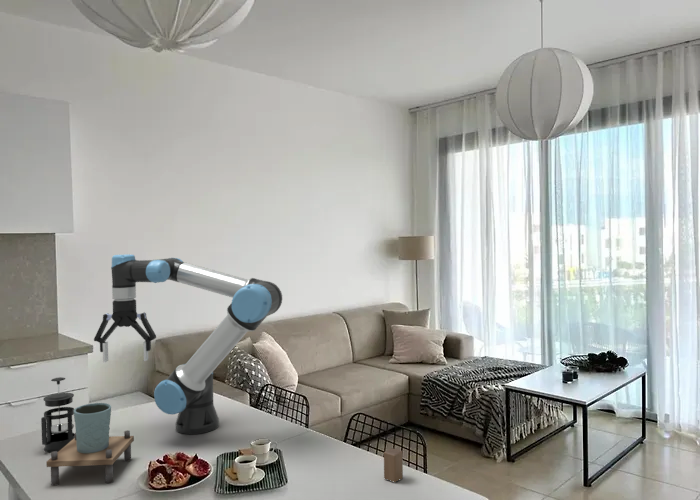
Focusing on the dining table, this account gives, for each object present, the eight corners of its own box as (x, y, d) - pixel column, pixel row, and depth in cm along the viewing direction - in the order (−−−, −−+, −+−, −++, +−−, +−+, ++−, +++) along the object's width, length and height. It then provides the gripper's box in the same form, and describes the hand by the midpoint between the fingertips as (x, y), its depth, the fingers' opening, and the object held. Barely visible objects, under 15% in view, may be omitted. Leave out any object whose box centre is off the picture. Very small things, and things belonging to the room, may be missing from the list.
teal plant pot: (85, 441, 168) (84, 402, 168) (118, 441, 168) (117, 402, 167) (67, 454, 158) (66, 413, 158) (102, 454, 158) (101, 413, 157)
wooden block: (391, 474, 158) (391, 447, 158) (403, 478, 155) (403, 450, 155) (383, 479, 155) (383, 451, 155) (395, 483, 152) (394, 455, 152)
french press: (62, 439, 189) (60, 373, 188) (84, 442, 186) (82, 375, 185) (32, 452, 178) (30, 382, 177) (55, 455, 175) (53, 384, 174)
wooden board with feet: (134, 457, 173) (133, 429, 172) (112, 483, 155) (112, 452, 154) (75, 459, 172) (74, 431, 171) (47, 486, 154) (46, 454, 153)
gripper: (164, 297, 193) (165, 357, 194) (91, 298, 192) (93, 359, 192) (158, 299, 186) (159, 362, 186) (82, 301, 184) (84, 364, 185)
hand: (126, 360), depth 189 cm, fingers open, 13 cm apart
